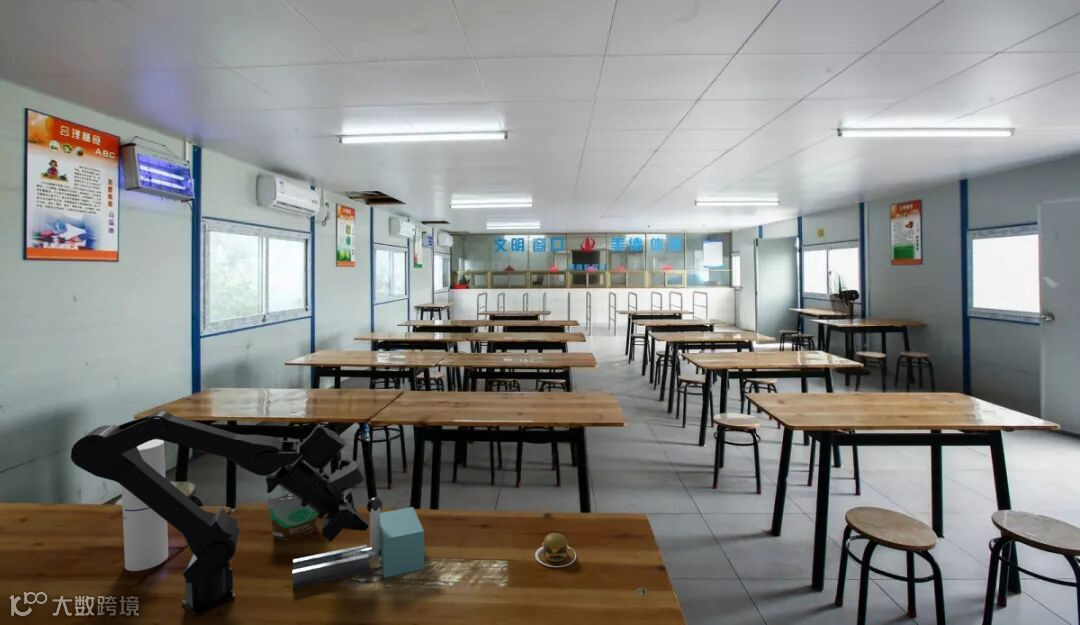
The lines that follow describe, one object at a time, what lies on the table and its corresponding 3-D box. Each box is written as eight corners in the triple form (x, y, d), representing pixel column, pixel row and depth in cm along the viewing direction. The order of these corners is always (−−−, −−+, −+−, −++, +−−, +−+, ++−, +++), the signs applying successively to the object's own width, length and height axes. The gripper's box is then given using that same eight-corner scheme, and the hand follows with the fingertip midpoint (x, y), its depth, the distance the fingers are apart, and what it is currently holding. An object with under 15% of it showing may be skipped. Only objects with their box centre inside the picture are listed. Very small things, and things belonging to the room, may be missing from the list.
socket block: (384, 578, 99) (383, 539, 98) (376, 548, 109) (376, 513, 109) (424, 568, 102) (424, 531, 101) (413, 540, 113) (413, 507, 112)
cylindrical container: (144, 572, 100) (139, 452, 98) (115, 568, 101) (110, 449, 100) (176, 554, 107) (172, 440, 105) (149, 550, 108) (145, 438, 107)
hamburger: (577, 580, 99) (577, 554, 99) (520, 570, 103) (520, 545, 102) (587, 549, 111) (588, 526, 111) (536, 541, 114) (537, 518, 114)
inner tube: (342, 568, 99) (341, 506, 99) (341, 560, 102) (340, 500, 101) (403, 555, 104) (402, 496, 104) (400, 547, 107) (400, 490, 107)
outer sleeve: (292, 589, 95) (292, 573, 95) (293, 574, 99) (293, 559, 99) (369, 571, 101) (369, 556, 100) (366, 558, 105) (366, 544, 105)
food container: (279, 549, 109) (278, 505, 108) (267, 540, 113) (265, 497, 112) (332, 527, 119) (331, 487, 118) (318, 520, 122) (318, 480, 122)
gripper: (340, 468, 91) (402, 515, 96) (336, 439, 108) (388, 480, 113) (293, 518, 88) (360, 563, 93) (296, 480, 105) (352, 520, 110)
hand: (367, 528), depth 102 cm, fingers closed
